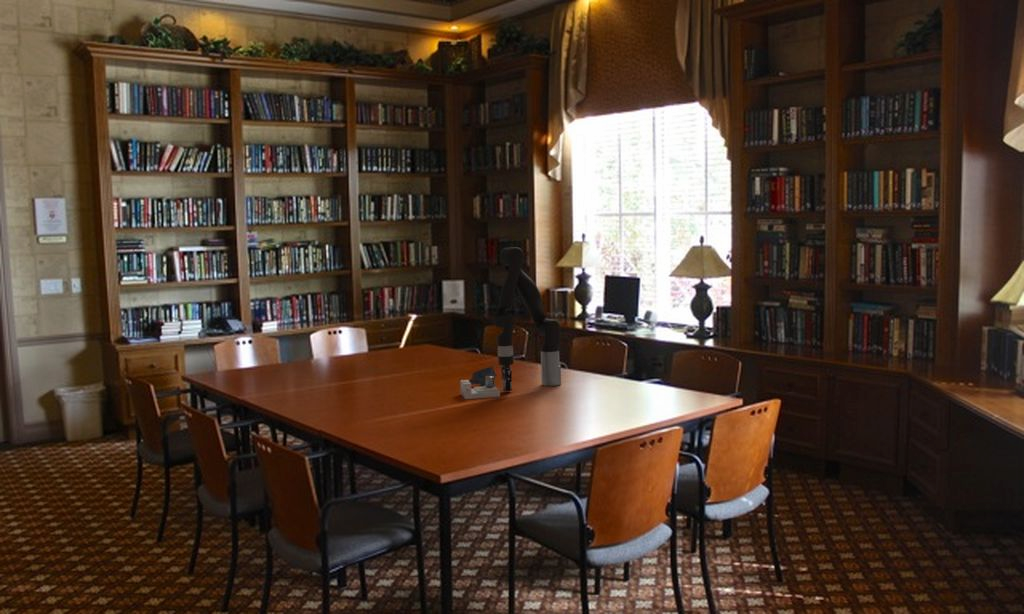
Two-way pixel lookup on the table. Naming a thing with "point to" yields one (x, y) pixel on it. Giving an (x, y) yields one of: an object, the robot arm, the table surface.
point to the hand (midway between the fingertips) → (507, 389)
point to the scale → (477, 391)
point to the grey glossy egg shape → (489, 381)
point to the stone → (482, 375)
